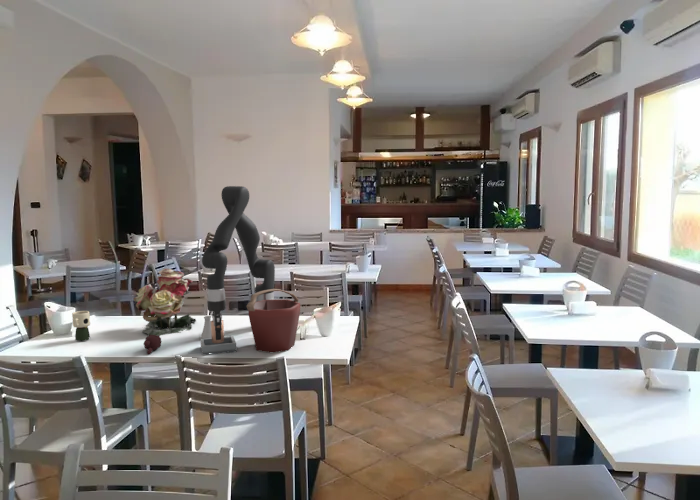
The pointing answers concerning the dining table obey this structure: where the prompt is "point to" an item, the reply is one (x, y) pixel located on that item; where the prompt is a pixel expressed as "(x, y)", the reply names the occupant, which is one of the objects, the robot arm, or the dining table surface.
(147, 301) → the rose bouquet
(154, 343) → the icecream
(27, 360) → the dining table surface
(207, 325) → the flask
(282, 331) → the bucket
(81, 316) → the character mug
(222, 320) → the terracotta cup
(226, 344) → the slate tray
